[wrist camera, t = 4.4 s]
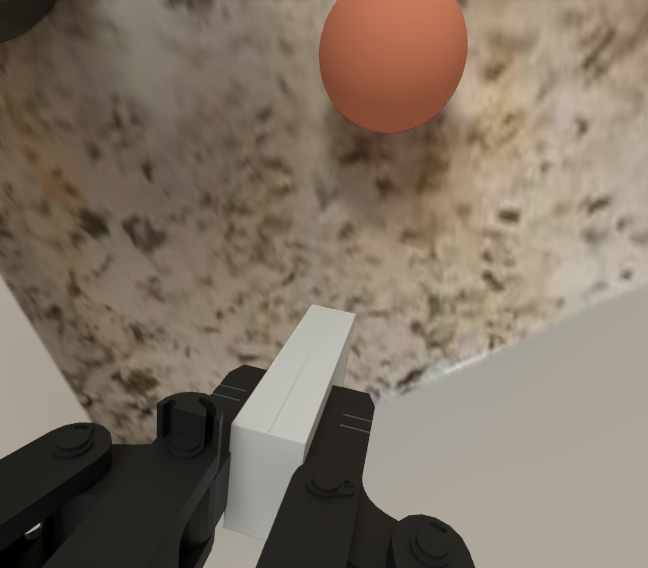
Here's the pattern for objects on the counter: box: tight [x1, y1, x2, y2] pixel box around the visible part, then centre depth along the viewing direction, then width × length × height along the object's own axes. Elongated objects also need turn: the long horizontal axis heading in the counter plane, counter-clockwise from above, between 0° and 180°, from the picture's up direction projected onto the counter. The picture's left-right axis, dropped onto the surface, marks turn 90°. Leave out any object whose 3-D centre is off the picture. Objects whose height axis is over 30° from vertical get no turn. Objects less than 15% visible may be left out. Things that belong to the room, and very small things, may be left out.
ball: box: [319, 0, 468, 133], centre depth 18 cm, size 6×6×6 cm
